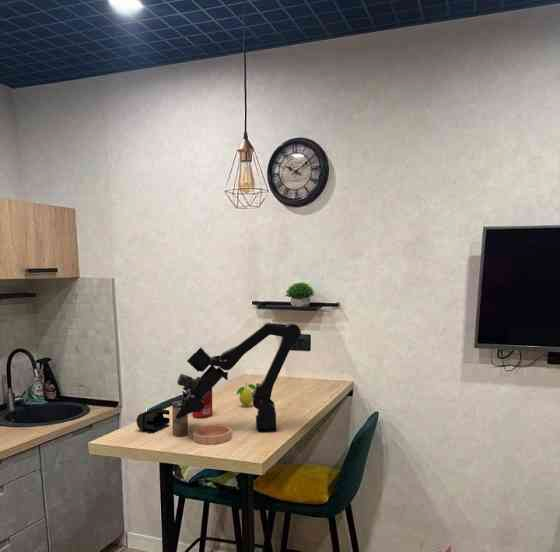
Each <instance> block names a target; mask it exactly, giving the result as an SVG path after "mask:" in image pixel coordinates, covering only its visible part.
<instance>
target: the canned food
mask: <svg viewBox="0 0 560 552" xmlns="http://www.w3.org/2000/svg"><path fill="white" fill-rule="evenodd" d="M203 402H204V408H203V409H202V410H201V412H200V411H199V410H198V411H194V412H192V413H191V414H192V417H193V418H194V419H208V418H210V417H212V415H213V390H212V391H211V392H210V391H209V392H208V393H207V395H206V396H205V397H204V400H203Z"/></svg>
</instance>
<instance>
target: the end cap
mask: <svg viewBox="0 0 560 552" xmlns="http://www.w3.org/2000/svg"><path fill="white" fill-rule="evenodd" d="M164 415H166V416H169V415H170V410H169V409H163V408H162V406H158V407H154V408H152V409H149V410H147V411H145V412H141V413H140V414H138V415H137V417H136V421H135V422H136V426H137V428H138V429H139V430H140V431H141V432H143V433H145V432H147V433H146V434H151V433H153V434H155V432H156V433H158V432H160V431H162V430H164V428H165V429H166V427H167V428H170V425H169V424H170V417H165V416H164ZM159 430H160V431H159ZM157 431H158V432H157Z"/></svg>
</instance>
